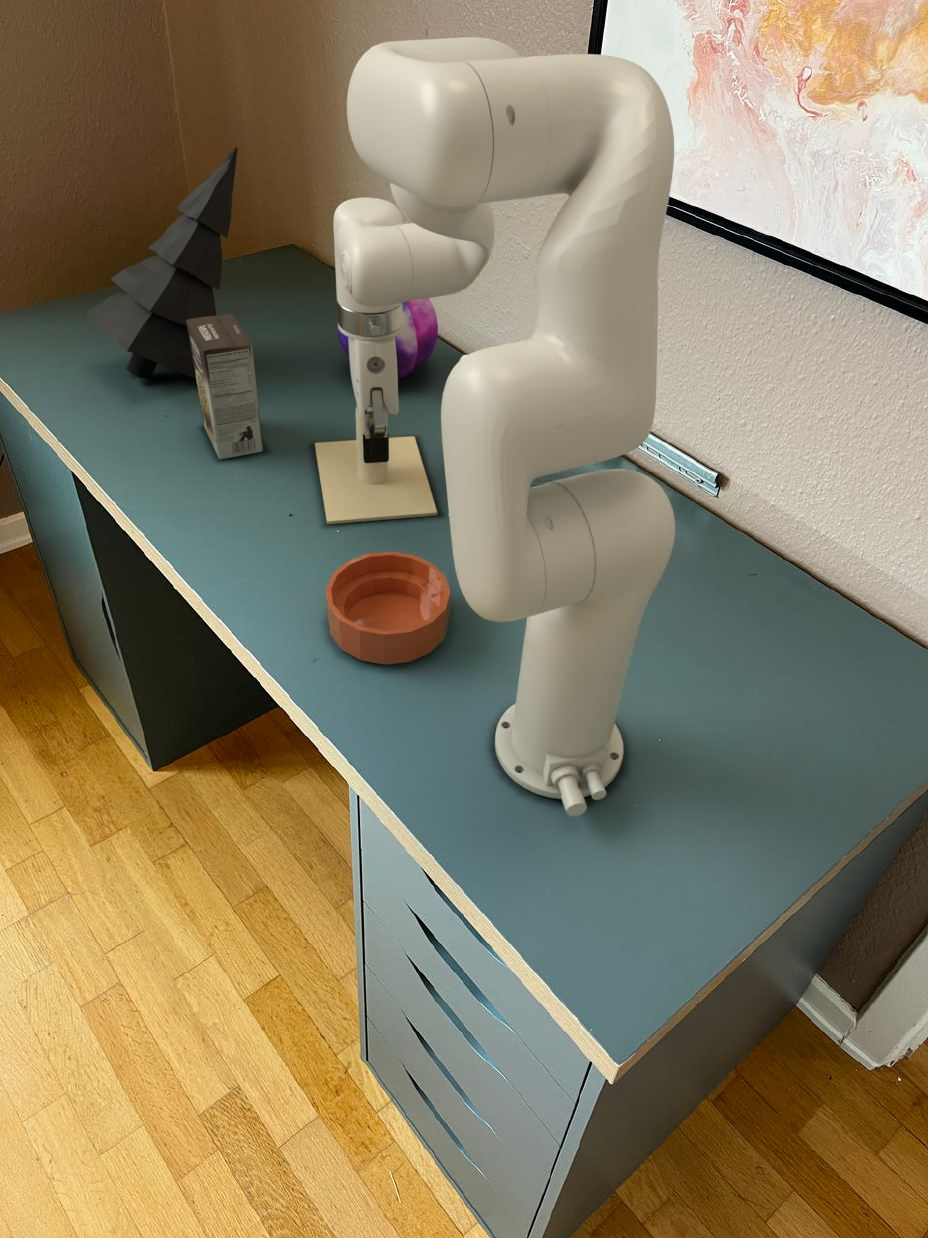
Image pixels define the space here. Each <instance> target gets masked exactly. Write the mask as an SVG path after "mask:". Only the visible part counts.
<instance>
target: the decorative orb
mask: <svg viewBox="0 0 928 1238" xmlns="http://www.w3.org/2000/svg"><path fill="white" fill-rule="evenodd" d="M438 334H439V324H438V317H437V312H436V309H435V308H434V305H433V302H432V301H431V299H430V298H424V299H417V300H411V301H406V302H403V303H402V330H401V332H400V333H399V334H397V335H396V336H395V343H396V355H397V377H398V380H399V379H403V378H406V377H409V376H410V375H413V374H414V373H416V372H417V371H419V370H420V369H421V368H422V367H423V366H424V365H425V364H426V363H427V362H428V361H429V359H430V358H431V356H432V354H433V352H434V350H435V347H436V344H437V341H438V336H439V335H438ZM337 335H338V339H339V343H340V345H341V349H342V350H343V352H344V354H345V356H346V357H347V359H348V360H349V361H350V359H349V340H348V336H346V335H344V334H343V333H342V332H340V330H339V328H338V327H337Z"/></svg>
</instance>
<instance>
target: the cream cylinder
mask: <svg viewBox="0 0 928 1238" xmlns="http://www.w3.org/2000/svg"><path fill="white" fill-rule="evenodd" d="M386 409H387V408H386ZM354 411H355V433H356V434H355V435H356V437H355V438H356V439H355V440H357V468H358V478H359V479H360V480H361V481H362V482H364V483H367V484H379V483H382V482H384V481H385V480H386V479H387V478H388V462H380V463H365V462H364V459H363V434H365V427H364V417H363V416H361V415H360V414H359V411H358V407H357V406H356V407H355V410H354ZM368 411H372V407H368V409H367V412H368ZM388 414H389V413H387V426H388V425H389V423H388V421H389V420H388V419H389V418H388V416H389V415H388ZM371 424H373V418H369V426H370V425H371ZM388 427H389V426H388Z"/></svg>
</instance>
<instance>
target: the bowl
mask: <svg viewBox="0 0 928 1238" xmlns="http://www.w3.org/2000/svg"><path fill="white" fill-rule="evenodd" d="M325 600H326V613H327V616H326V617H327V623H328V624H327V625H328V633H329V636H330V637H331V638H332V639H333V641H334V642H335V643H336V645H337V646H338V647H339V649H340V650H342V651H343V652H344V653H346V654H347V655H351V656H352V657H354V658H356V659H358V660H360V661H361V662H362V661H363V662H369V663H374V664H380V665H394V664H401V663H411V662H413V661H415V660H418V659H419V658H421V657H424V656H426V655H429V654H431V653H432V652H433V651H434V649H436V648H437V647H438V646H439V645H440V644H441V643H442V642H443V641H444V639H446V638H445V637H446V634H447V632H448V628H449V624H450V611H451V610H450V609H451V590H450V586H449V583H448V579H447V577H446V575H444V574H443V572H441V570H439V568H438V567H436V565H435V564H434V563H432V562H429V561H427V560H426V559H424V558H421V557H419V556H417V555H415V554H411V553H403V552H397V551H384V552H383V551H382V552H372V553H371V552H370V553H366V554H363V555H361V556H358V557H355V558H353V559H350V560H348V561H346V562H345V563H344V564H342V566H340V567H339V568H338V569H336V571H334V572H333V573H332V574H331V577H330V579H329V581H328V583H327V585H326V588H325Z"/></svg>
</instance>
